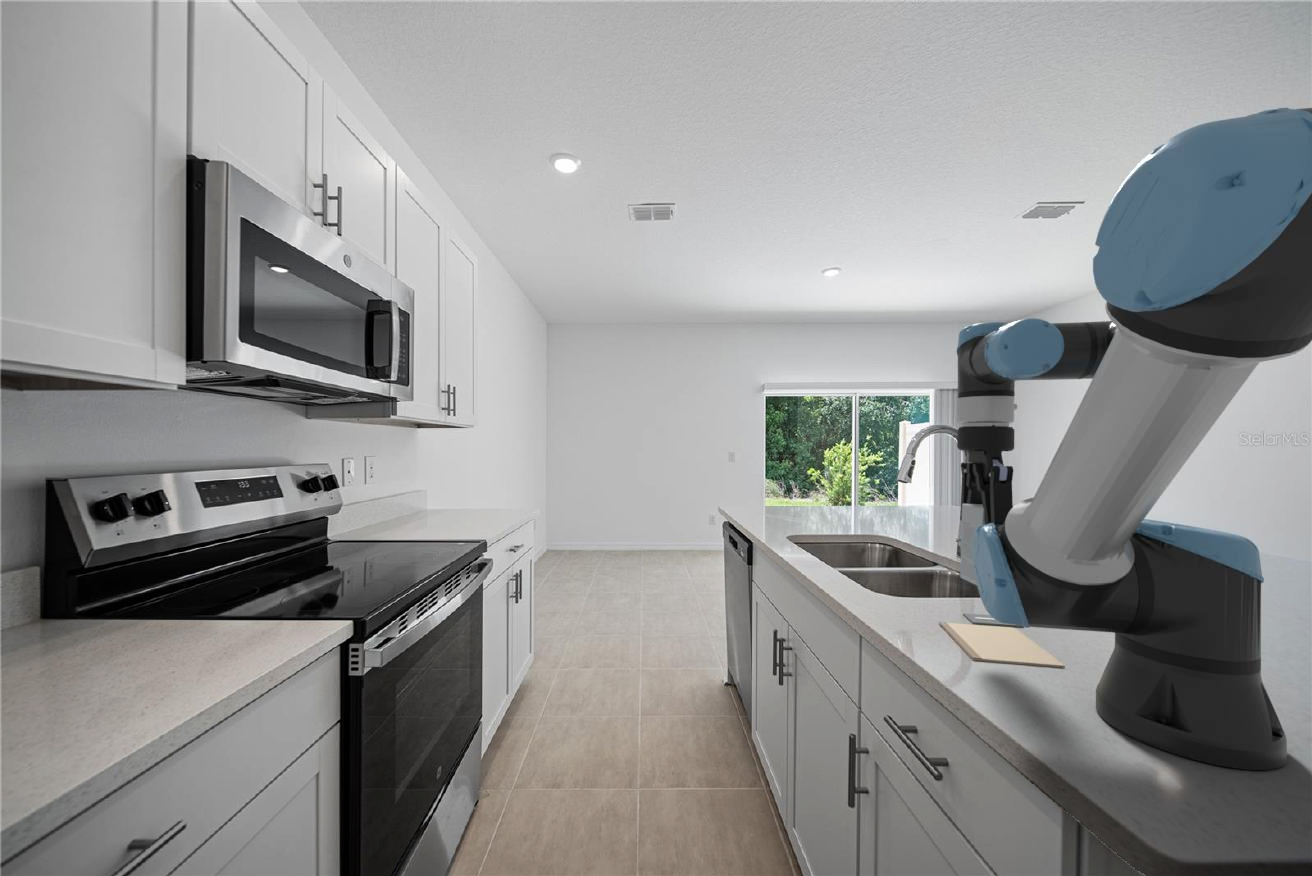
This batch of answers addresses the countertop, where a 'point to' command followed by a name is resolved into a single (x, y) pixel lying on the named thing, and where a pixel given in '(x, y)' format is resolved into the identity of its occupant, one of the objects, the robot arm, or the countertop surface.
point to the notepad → (999, 645)
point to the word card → (986, 620)
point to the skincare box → (969, 538)
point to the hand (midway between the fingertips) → (984, 574)
